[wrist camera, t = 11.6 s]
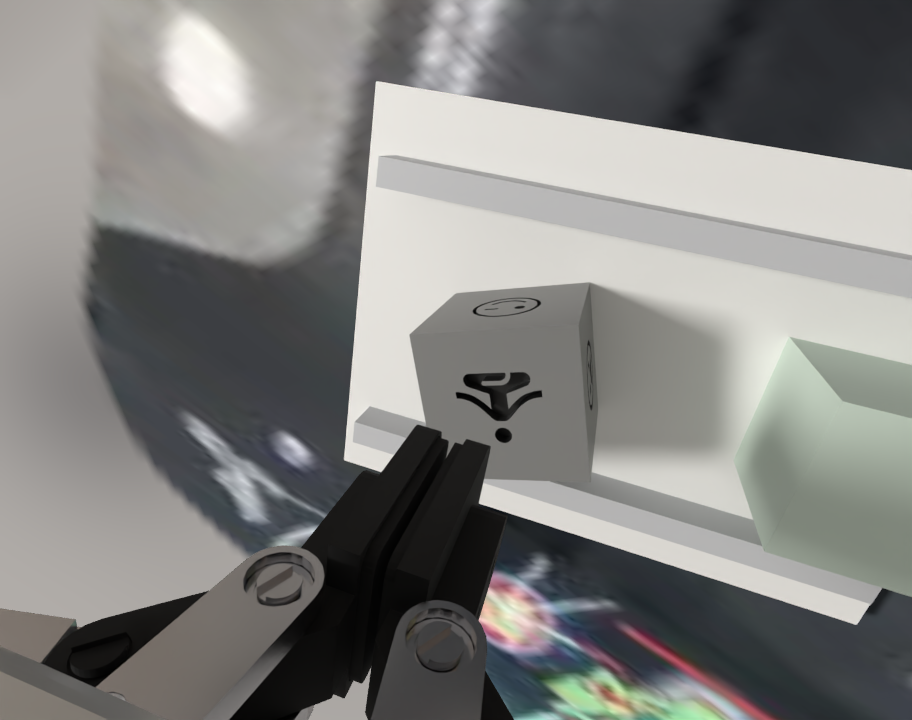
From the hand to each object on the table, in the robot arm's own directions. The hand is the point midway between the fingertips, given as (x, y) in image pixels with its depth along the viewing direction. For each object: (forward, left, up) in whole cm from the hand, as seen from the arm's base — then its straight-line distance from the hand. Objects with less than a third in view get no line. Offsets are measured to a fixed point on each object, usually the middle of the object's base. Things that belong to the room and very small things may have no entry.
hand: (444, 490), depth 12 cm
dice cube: (0, 0, -10) cm, 10 cm away
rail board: (-4, 0, -11) cm, 12 cm away
